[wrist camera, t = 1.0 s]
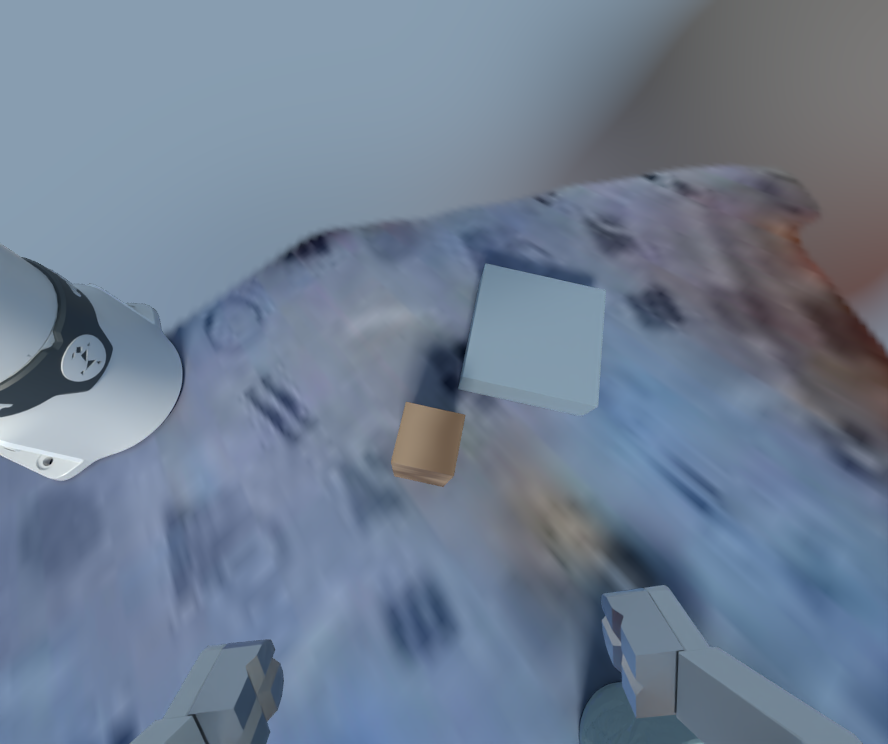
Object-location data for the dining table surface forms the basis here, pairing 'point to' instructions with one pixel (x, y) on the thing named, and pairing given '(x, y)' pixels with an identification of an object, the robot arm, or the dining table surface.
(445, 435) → the walnut block
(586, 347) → the slate base
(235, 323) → the dining table surface
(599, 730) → the embossed ceramic cup
